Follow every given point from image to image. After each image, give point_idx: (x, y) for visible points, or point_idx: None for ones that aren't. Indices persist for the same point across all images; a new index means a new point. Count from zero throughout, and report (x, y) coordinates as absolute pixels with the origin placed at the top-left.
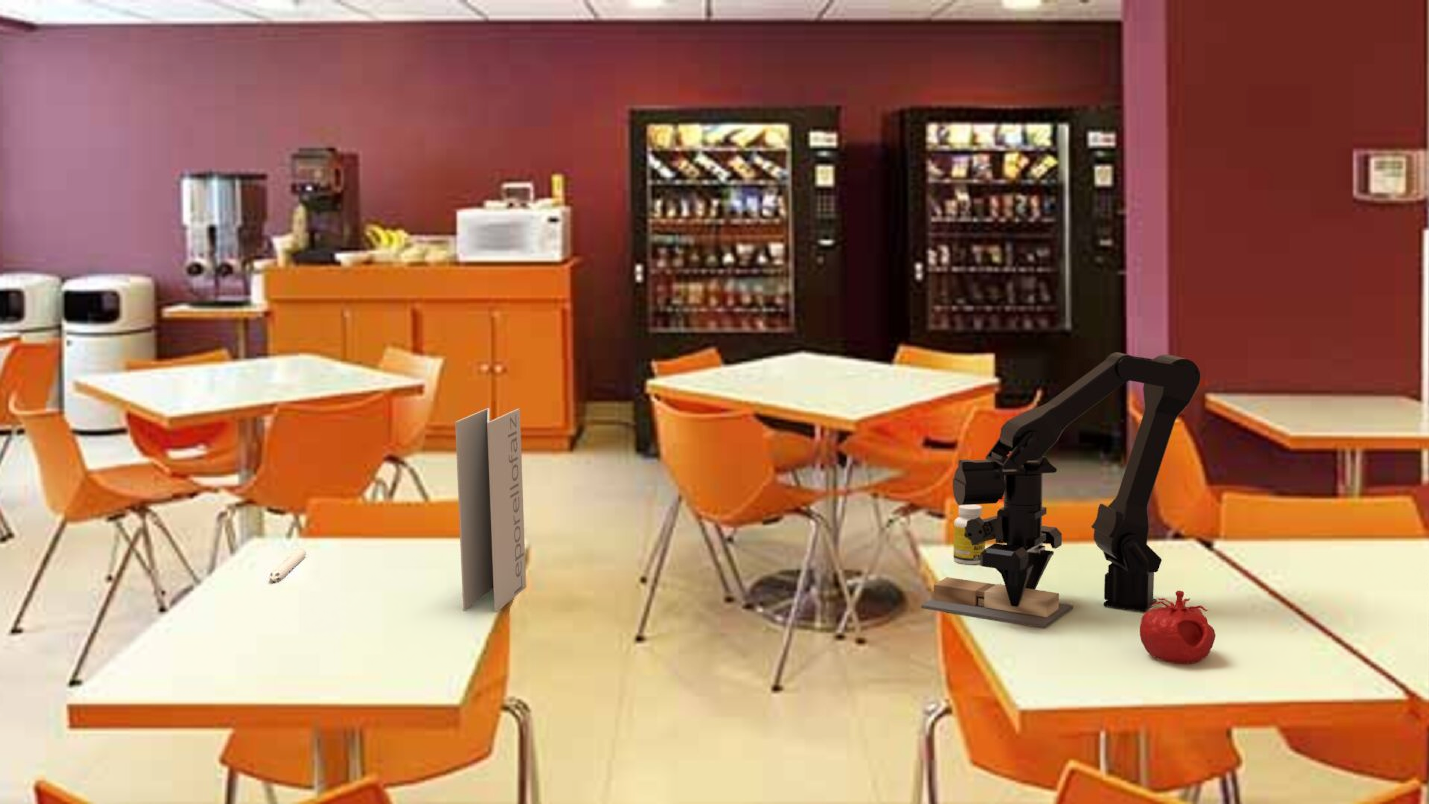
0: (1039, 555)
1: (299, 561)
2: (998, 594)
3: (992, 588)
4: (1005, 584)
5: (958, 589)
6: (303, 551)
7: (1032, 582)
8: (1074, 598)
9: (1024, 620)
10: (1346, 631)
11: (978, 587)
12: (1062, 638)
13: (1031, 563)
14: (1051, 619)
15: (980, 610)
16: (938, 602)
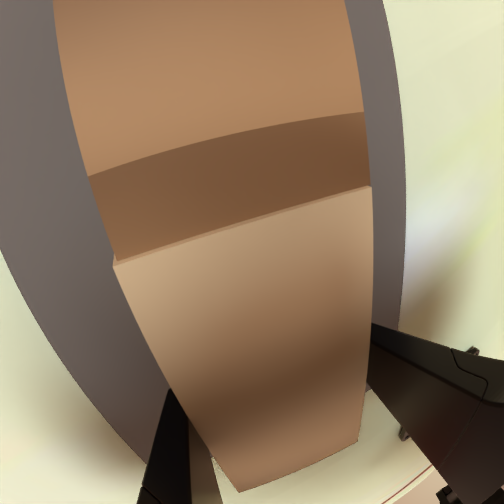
0: (483, 494)
1: None
2: (157, 359)
3: (242, 247)
4: (140, 498)
5: (56, 18)
6: None
7: (390, 396)
8: (456, 307)
9: (133, 432)
10: (397, 496)
11: (201, 120)
12: (131, 500)
13: (466, 449)
14: None
15: (66, 238)
16: None
